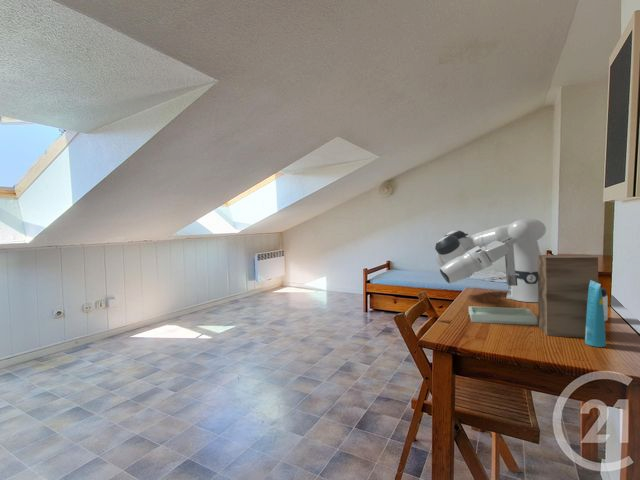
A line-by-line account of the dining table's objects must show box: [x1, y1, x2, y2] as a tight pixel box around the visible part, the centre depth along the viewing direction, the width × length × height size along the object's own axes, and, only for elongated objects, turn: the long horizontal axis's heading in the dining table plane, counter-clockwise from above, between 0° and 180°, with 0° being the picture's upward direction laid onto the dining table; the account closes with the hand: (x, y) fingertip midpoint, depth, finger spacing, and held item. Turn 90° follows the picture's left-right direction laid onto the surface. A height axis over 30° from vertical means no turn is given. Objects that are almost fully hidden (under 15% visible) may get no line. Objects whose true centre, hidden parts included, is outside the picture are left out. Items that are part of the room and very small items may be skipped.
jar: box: [601, 286, 609, 322], centre depth 125 cm, size 9×8×12 cm
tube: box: [584, 280, 607, 348], centre depth 100 cm, size 7×5×19 cm, turn 165°
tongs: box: [504, 241, 517, 287], centre depth 127 cm, size 3×17×3 cm
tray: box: [468, 305, 538, 326], centre depth 130 cm, size 13×22×3 cm, turn 70°
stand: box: [537, 254, 599, 339], centre depth 112 cm, size 10×14×26 cm
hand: (514, 239), depth 126 cm, fingers closed on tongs, 3 cm apart
